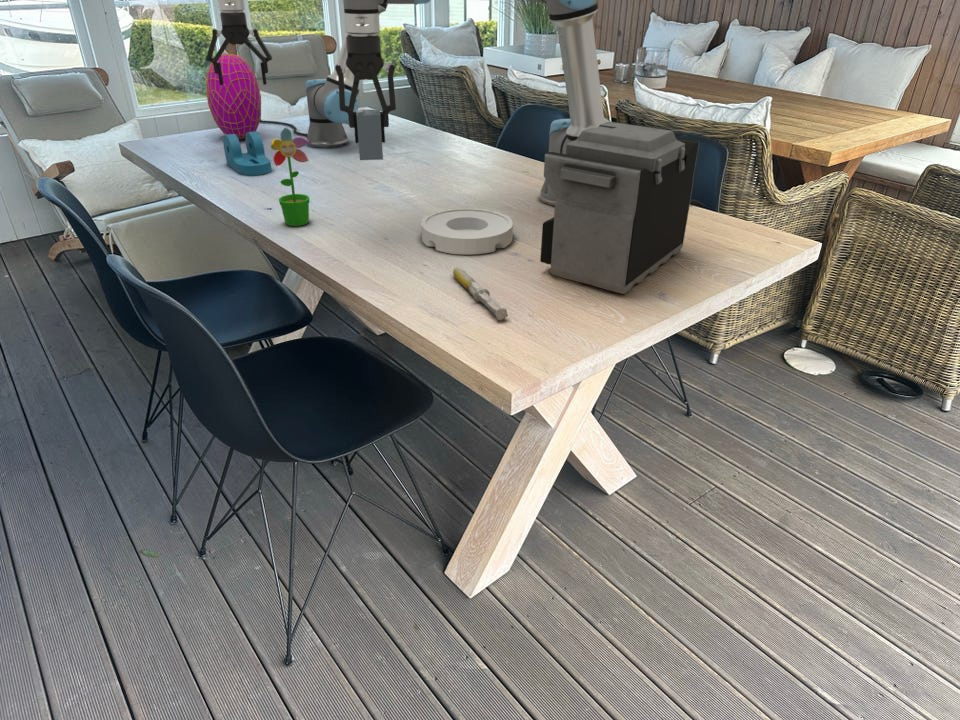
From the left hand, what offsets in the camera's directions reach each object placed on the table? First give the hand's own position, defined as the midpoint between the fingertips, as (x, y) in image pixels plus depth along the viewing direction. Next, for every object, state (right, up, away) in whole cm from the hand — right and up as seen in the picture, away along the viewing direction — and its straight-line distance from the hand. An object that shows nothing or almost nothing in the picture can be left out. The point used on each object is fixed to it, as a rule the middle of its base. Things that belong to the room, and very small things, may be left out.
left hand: (243, 84), depth 224 cm
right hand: (+51, -38, -60) cm, 88 cm away
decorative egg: (-15, -4, +42) cm, 45 cm away
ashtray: (+74, -59, -49) cm, 107 cm away
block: (+51, -41, -59) cm, 88 cm away
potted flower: (+29, -53, -41) cm, 73 cm away
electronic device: (+109, -67, -62) cm, 142 cm away
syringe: (+77, -77, -79) cm, 135 cm away
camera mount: (+1, -26, +5) cm, 27 cm away
